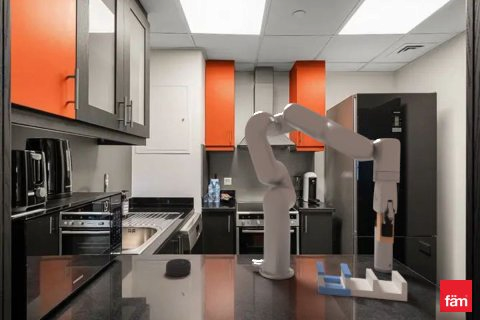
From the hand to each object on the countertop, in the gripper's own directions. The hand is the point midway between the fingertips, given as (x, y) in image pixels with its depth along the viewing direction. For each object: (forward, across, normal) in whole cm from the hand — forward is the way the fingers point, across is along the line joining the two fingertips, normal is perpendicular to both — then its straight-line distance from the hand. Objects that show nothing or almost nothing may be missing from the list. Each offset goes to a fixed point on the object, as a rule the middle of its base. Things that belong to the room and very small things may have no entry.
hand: (384, 234), depth 95 cm
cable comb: (+18, 0, -8) cm, 20 cm away
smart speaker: (+20, 0, -70) cm, 72 cm away
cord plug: (+2, 0, 0) cm, 2 cm away
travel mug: (+19, -22, +6) cm, 29 cm away
